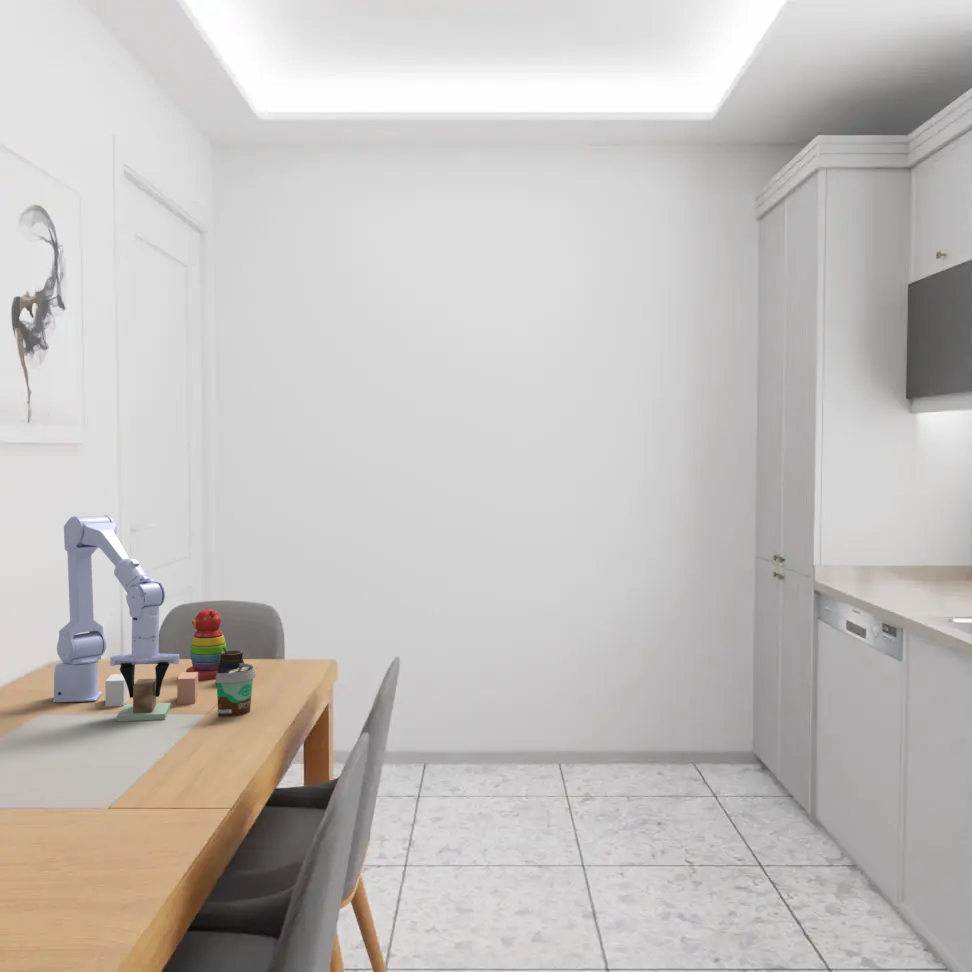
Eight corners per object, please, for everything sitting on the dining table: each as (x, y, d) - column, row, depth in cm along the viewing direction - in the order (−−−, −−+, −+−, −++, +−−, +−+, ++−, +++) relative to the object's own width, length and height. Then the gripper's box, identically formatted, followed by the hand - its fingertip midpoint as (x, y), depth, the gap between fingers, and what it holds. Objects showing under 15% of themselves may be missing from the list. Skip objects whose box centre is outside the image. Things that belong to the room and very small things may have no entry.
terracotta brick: (177, 704, 219) (177, 679, 219) (180, 697, 226) (181, 672, 226) (194, 703, 220) (195, 678, 220) (198, 696, 227) (198, 671, 226)
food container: (240, 720, 206) (241, 675, 206) (215, 718, 207) (215, 673, 207) (264, 706, 218) (265, 663, 218) (240, 704, 219) (240, 662, 219)
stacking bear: (184, 672, 251) (185, 607, 251) (222, 669, 256) (223, 605, 255) (189, 681, 242) (190, 613, 241) (229, 678, 246) (230, 611, 245)
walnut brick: (133, 713, 206) (133, 686, 206) (137, 705, 213) (138, 679, 212) (152, 712, 207) (152, 685, 206) (156, 704, 213) (156, 678, 213)
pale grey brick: (105, 706, 216) (105, 681, 216) (111, 699, 223) (111, 674, 222) (123, 706, 216) (123, 680, 216) (128, 698, 223) (129, 673, 223)
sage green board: (117, 721, 203) (117, 715, 203) (125, 709, 213) (125, 704, 213) (164, 719, 205) (164, 714, 205) (170, 707, 215) (170, 702, 215)
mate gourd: (250, 679, 245) (250, 641, 244) (239, 686, 237) (240, 648, 237) (223, 678, 245) (224, 640, 245) (212, 685, 238) (212, 646, 237)
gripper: (107, 640, 204) (107, 701, 204) (176, 638, 206) (176, 699, 207) (113, 634, 211) (113, 693, 211) (180, 633, 213) (180, 691, 214)
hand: (144, 696), depth 209 cm, fingers open, 5 cm apart
